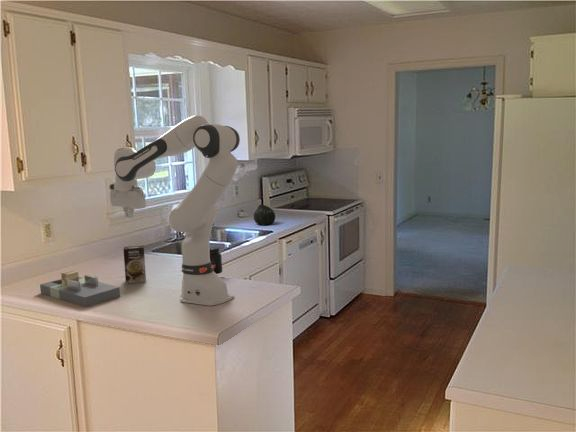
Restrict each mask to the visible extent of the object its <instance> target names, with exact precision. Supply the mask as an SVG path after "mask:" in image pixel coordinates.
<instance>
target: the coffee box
mask: <svg viewBox="0 0 576 432" xmlns="http://www.w3.org/2000/svg"><path fill="white" fill-rule="evenodd" d="M145 258H146V257H145V246H144V244H143V245H131V246H130V245H129V246H123V260H124V261H123V262H124V277H125V284H126V285H127V284H128V283H129V284H139V283H146V282H147V273H146V272H147V271H146V261H145Z"/></svg>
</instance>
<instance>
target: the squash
mask: <svg viewBox="0 0 576 432" xmlns="http://www.w3.org/2000/svg"><path fill="white" fill-rule="evenodd" d="M253 220H254V222H255V223H256V224H258V225H259V226H266V225H272V224H274V222H275V220H276V214H275V211H274V210H273V209H272V208H271V207H269V206H267V205H264V204H259V205H258V206H257V209H256V210H255V212H254V214H253Z"/></svg>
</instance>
